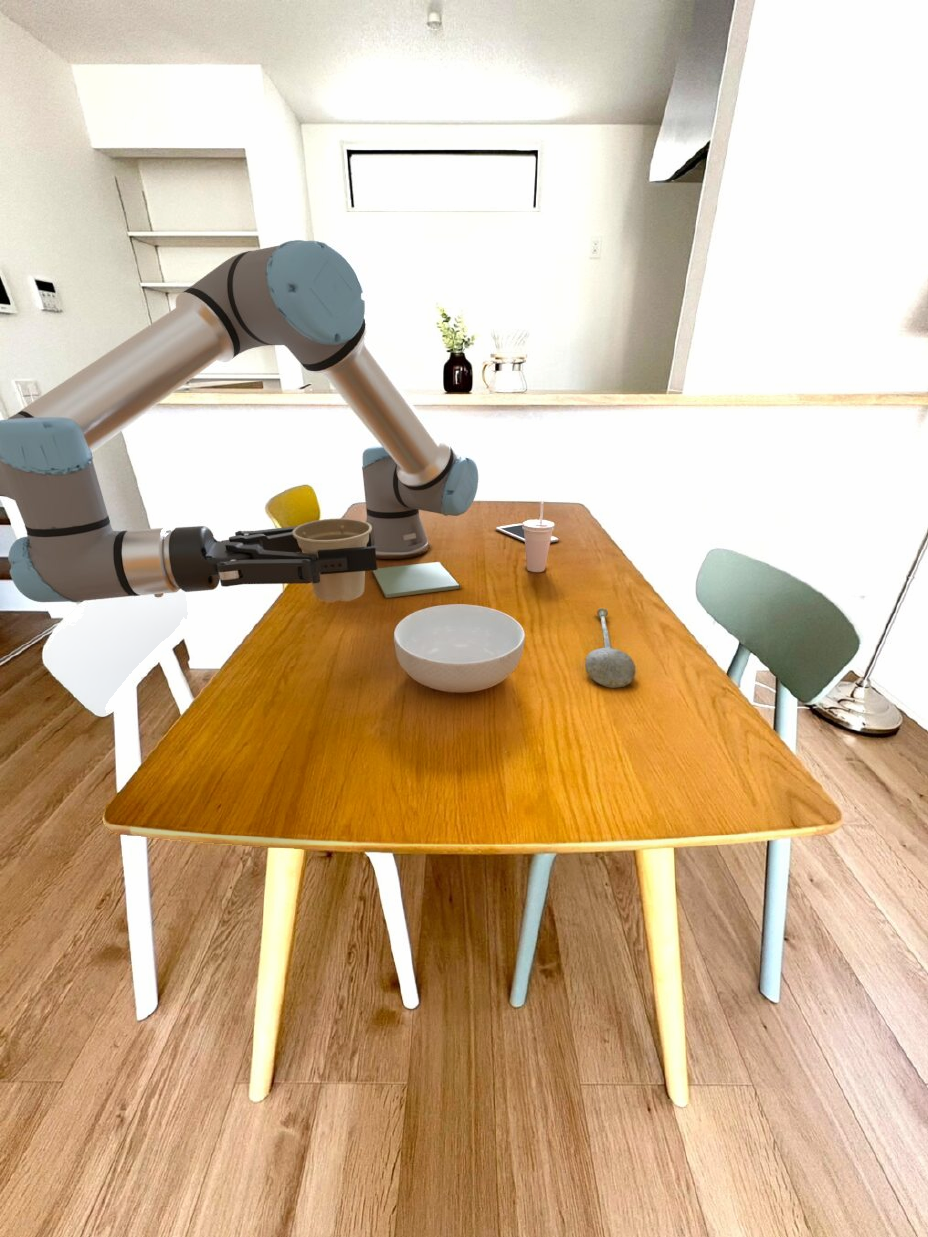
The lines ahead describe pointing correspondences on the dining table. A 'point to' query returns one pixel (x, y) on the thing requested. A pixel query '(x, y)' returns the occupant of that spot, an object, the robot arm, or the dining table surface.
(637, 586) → the dining table surface
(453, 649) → the cereal bowl
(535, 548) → the smoothie
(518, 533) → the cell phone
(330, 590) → the flower pot
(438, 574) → the pale green notebook
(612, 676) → the soupspoon
